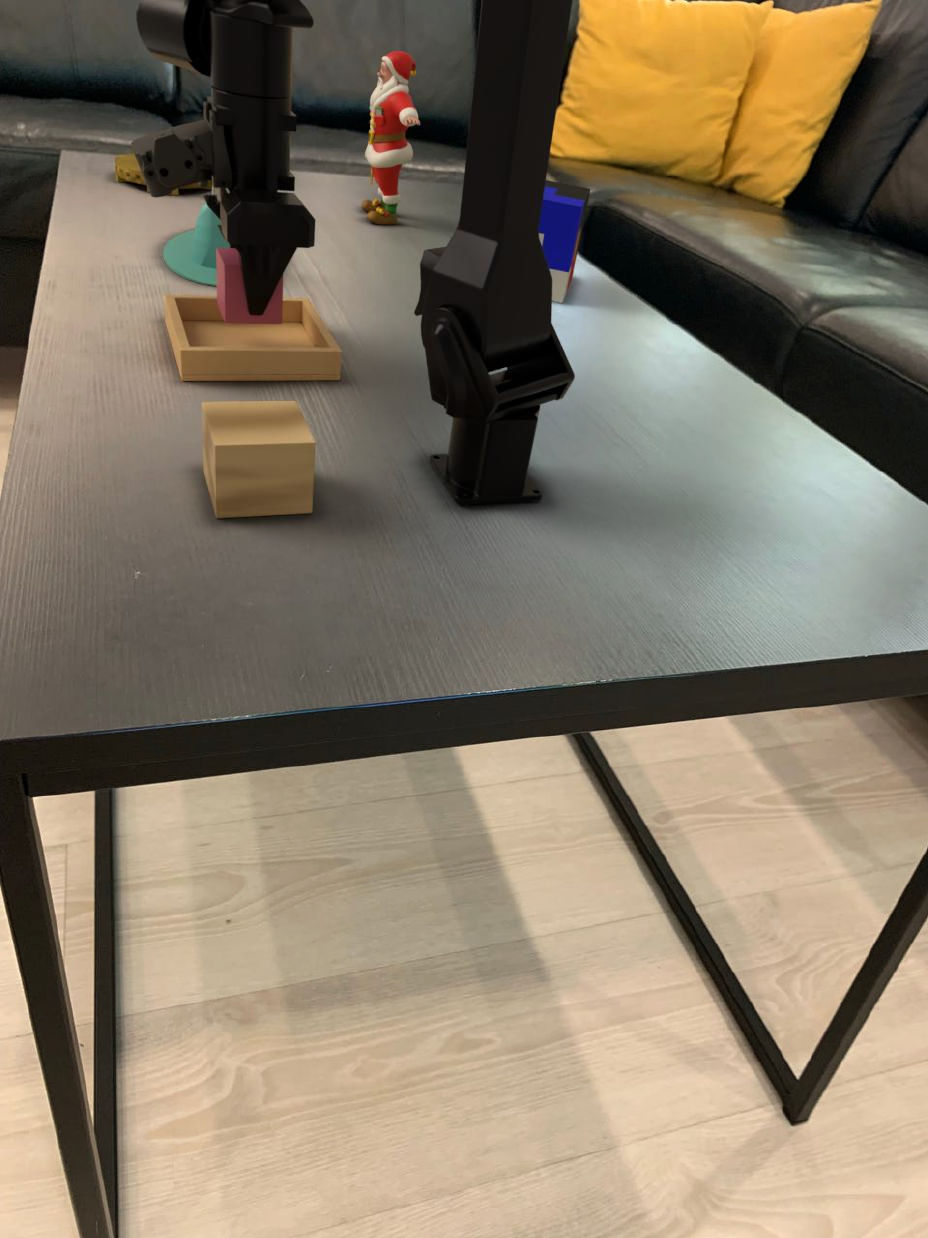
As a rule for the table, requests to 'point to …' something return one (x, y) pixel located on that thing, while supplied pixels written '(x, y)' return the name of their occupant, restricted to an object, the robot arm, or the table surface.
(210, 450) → the base block
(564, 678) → the table surface
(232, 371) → the tray
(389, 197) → the santa figurine
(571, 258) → the puzzle toy
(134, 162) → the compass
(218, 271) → the rose block
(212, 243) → the teal cone with brim
